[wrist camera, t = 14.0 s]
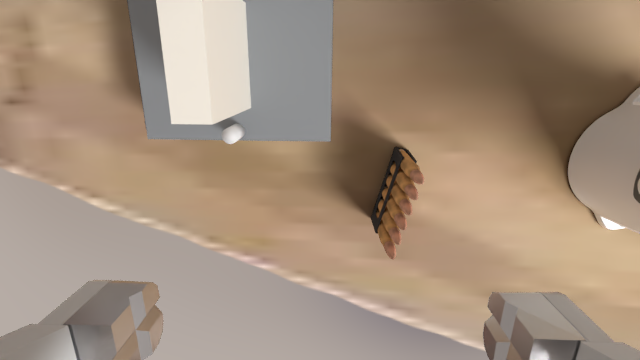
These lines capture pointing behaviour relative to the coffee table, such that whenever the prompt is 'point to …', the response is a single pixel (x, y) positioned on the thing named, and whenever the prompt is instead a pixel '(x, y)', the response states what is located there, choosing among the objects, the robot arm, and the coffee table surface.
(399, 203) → the ammunition clip
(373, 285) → the coffee table surface
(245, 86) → the door panel
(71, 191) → the coffee table surface
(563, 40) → the coffee table surface
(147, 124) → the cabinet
